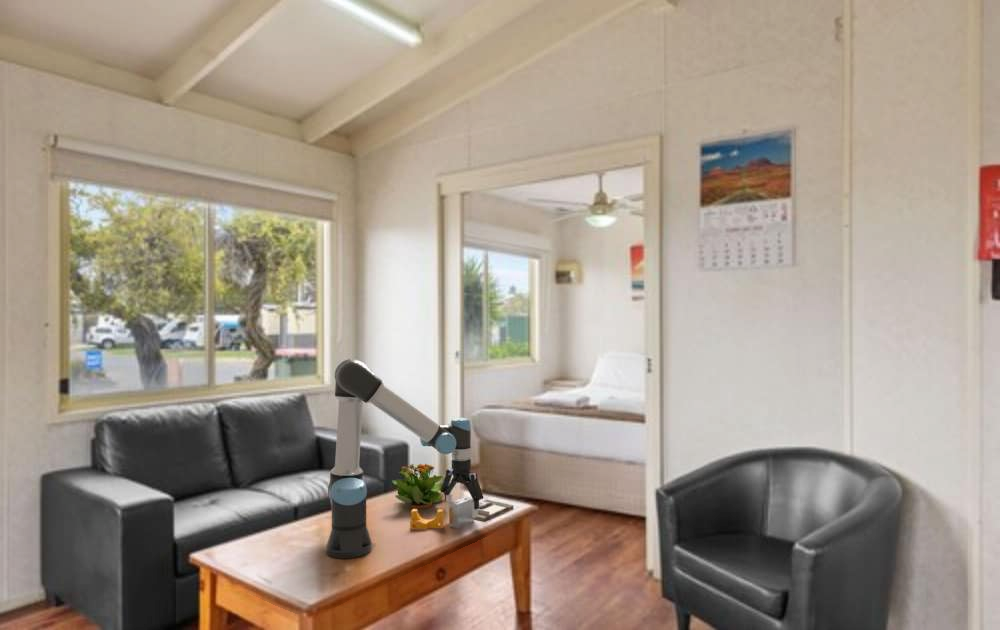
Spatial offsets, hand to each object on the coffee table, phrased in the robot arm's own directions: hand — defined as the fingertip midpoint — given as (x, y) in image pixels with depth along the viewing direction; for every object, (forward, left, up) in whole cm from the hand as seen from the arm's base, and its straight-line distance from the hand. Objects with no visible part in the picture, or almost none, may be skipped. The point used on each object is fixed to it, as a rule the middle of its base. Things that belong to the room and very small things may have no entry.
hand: (461, 514), depth 236 cm
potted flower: (-10, +28, -4) cm, 30 cm away
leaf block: (0, 0, -4) cm, 4 cm away
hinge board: (+14, +11, -4) cm, 18 cm away
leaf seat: (+15, +8, -2) cm, 17 cm away
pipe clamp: (-14, +1, -4) cm, 14 cm away
